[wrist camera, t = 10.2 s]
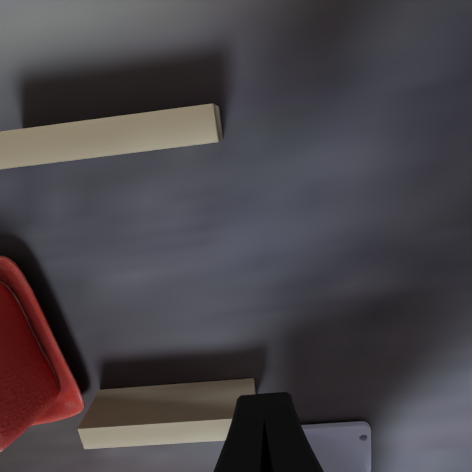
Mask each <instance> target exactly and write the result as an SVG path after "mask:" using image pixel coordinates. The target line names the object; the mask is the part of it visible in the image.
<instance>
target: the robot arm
mask: <svg viewBox="0 0 472 472" xmlns="http://www.w3.org/2000/svg"><path fill="white" fill-rule="evenodd" d="M361 435H363V436H361ZM214 472H371V429H370V426H369V424H368V423H367V422H364V421H357V422H342V423H326V424H311V425H301V424H300V422H299V419H298V417H297V414H296V411H295V408H294V405H293V402H292V399H291V395H290V394H288V393H287V392H280V393H266V394H253V395H241V396H240V397H239V398H238V399H237V402H236V407H235V411H234V415H233V418H232V422H231V425H230V428H229V431H228V434H227V437H226V440H225V443H224V446H223V449H222V451H221V454H220V456H219V459H218V462H217V464H216V467H215V470H214Z"/></svg>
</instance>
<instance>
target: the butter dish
mask: <svg viewBox="0 0 472 472" xmlns="http://www.w3.org/2000/svg"><path fill="white" fill-rule="evenodd" d="M83 409H84V400H83V396H82V394H81V391H80V388H79V387H78V384H77V382H76V379H75V378H74V376H73V374H72V372H71V370H70V368H69V366H68V364H67V362H66V360H65V358H64V356H63V353H62V352H61V349H60V347H59V345H58V343H57V341H56V339H55V337H54V335H53V332H52V330H51V328H50V326H49V323H48V321H47V319H46V317H45V315H44V312H43V311H42V309H41V307H40V305H39V302H38V300H37V298H36V296H35V294H34V292H33V290H32V288H31V286H30V284H29V283H28V281H27V279H26V277H25V276H24V274H23V273H22V271H21V270H20V268H19V267H18V265H17V264H16V263H15V262H14V261H13V260H11V259H10V258H8V257H5V256H0V452H1V451H3V450H4V449H5V448H6V447H7V446H9V445H10V444H11V443H12V442H13V441H14V440H16V439H17V438H18V437H19V436H20V435H21V434H22V433H23V432H24V431H25V430H27V429H28V428H29V427H30V426H32V425H38V424H43V423H48V422H53V421H58V420H62V419H65V418H68V417H72V416H74V415H77V414H78V413H80V412H81V411H82V410H83Z"/></svg>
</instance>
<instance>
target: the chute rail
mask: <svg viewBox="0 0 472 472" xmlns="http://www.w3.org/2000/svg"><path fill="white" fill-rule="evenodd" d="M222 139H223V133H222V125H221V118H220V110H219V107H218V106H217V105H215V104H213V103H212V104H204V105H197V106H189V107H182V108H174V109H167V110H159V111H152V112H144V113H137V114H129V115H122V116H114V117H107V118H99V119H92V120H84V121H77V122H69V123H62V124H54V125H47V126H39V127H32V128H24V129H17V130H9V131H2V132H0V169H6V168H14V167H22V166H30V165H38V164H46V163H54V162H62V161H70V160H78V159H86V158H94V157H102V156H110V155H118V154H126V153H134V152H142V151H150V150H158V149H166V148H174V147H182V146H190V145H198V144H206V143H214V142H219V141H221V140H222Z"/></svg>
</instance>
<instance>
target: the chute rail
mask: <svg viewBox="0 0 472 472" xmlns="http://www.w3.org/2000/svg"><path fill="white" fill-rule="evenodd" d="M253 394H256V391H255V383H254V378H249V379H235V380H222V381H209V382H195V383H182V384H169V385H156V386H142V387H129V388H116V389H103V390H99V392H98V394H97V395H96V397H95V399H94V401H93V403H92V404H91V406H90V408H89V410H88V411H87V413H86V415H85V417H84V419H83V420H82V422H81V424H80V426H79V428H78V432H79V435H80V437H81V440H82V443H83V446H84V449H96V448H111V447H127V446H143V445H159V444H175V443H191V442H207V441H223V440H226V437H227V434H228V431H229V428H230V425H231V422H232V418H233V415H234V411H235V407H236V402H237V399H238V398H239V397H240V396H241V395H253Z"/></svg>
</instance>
